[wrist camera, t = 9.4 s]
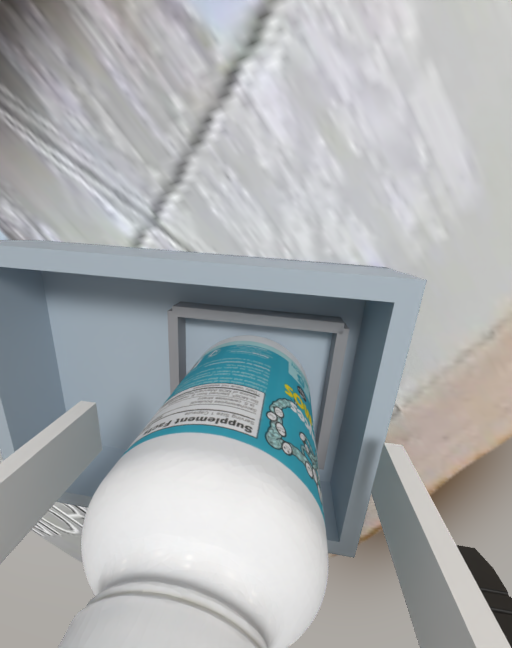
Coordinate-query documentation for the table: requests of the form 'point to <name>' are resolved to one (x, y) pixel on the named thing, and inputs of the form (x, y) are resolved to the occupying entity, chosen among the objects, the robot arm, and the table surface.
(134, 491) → the pill bottle
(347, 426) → the shallow open gray tray
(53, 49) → the table surface
